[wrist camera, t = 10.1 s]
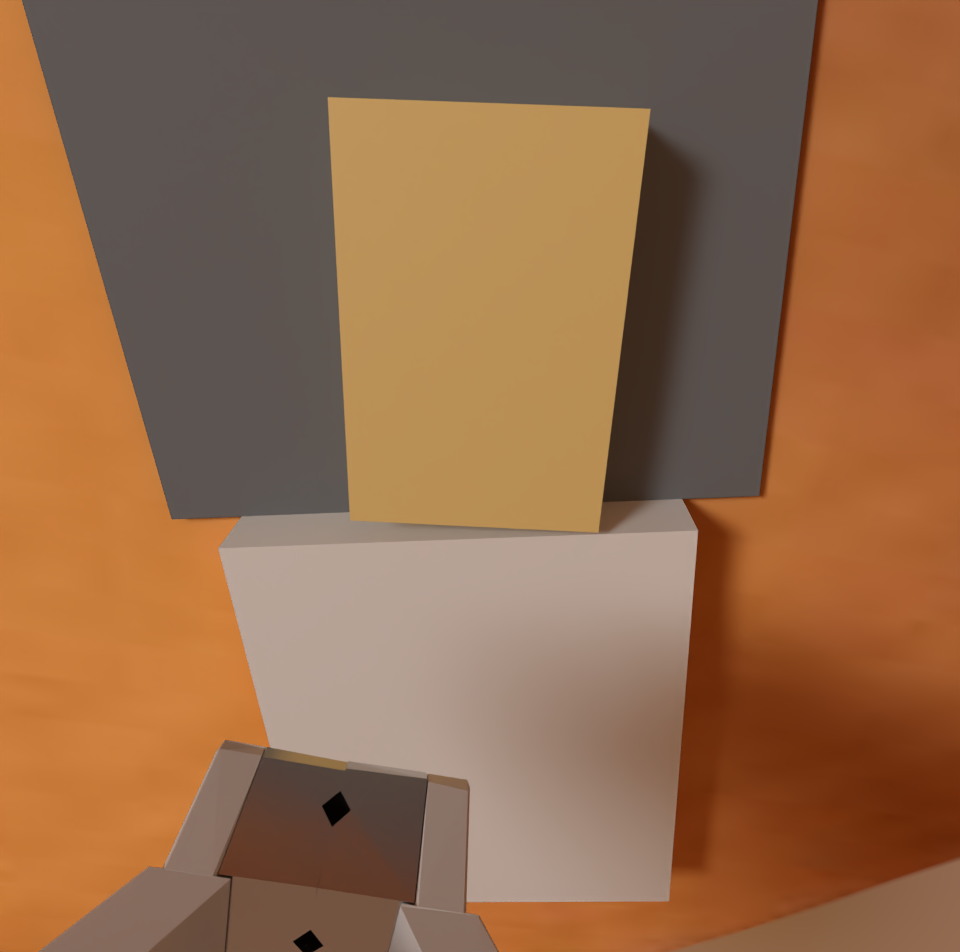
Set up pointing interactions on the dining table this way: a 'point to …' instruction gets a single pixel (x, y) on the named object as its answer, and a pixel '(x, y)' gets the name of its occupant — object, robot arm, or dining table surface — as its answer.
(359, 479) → the yellow rectangular block
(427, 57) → the mat
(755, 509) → the dining table surface
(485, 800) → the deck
